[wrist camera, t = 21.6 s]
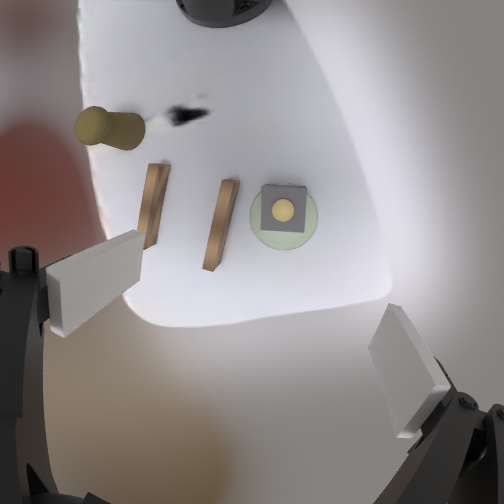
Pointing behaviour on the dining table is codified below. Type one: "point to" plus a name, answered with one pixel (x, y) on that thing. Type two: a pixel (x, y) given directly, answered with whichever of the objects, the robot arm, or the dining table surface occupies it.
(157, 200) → the guide channel
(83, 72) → the dining table surface
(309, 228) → the saucer
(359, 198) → the dining table surface
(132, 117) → the cork
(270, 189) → the plug
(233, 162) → the dining table surface
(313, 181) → the dining table surface
